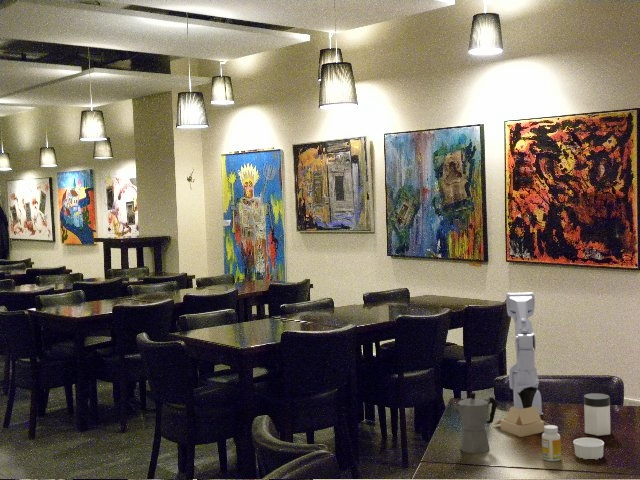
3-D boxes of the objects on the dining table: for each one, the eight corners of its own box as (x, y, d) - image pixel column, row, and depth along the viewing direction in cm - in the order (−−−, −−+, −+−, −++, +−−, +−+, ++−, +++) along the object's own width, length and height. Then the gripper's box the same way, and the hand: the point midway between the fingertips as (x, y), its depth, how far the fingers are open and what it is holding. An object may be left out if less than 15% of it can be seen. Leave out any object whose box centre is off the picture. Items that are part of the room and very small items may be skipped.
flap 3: (540, 420, 268) (536, 406, 270) (541, 420, 268) (536, 406, 269) (522, 424, 264) (517, 409, 266) (522, 424, 264) (517, 409, 266)
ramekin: (600, 462, 236) (600, 447, 236) (570, 458, 241) (569, 444, 241) (607, 453, 244) (607, 439, 244) (577, 450, 249) (577, 436, 248)
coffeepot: (465, 456, 246) (463, 398, 245) (448, 448, 255) (446, 392, 254) (507, 448, 252) (505, 392, 252) (489, 441, 261) (487, 386, 260)
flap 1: (522, 415, 277) (514, 420, 281) (522, 414, 277) (514, 420, 281) (501, 419, 273) (493, 425, 277) (500, 418, 273) (493, 424, 277)
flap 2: (505, 420, 271) (511, 407, 272) (515, 423, 266) (522, 410, 267) (505, 420, 270) (511, 406, 272) (515, 423, 266) (521, 409, 267)
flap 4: (524, 415, 277) (533, 421, 279) (543, 421, 269) (552, 427, 271) (524, 414, 277) (534, 421, 279) (543, 420, 269) (553, 427, 271)
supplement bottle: (561, 456, 243) (560, 424, 242) (560, 462, 238) (559, 429, 237) (542, 455, 245) (542, 423, 244) (541, 461, 239) (540, 428, 239)
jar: (616, 432, 265) (616, 396, 264) (603, 437, 260) (602, 400, 259) (592, 426, 272) (591, 391, 271) (578, 432, 267) (577, 396, 266)
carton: (523, 425, 277) (523, 415, 277) (544, 431, 268) (543, 421, 268) (500, 429, 273) (500, 419, 273) (520, 437, 264) (520, 426, 264)
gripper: (525, 364, 279) (526, 403, 279) (505, 372, 268) (506, 412, 268) (544, 366, 274) (545, 406, 275) (524, 374, 263) (525, 415, 264)
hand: (527, 409), depth 271 cm, fingers closed
